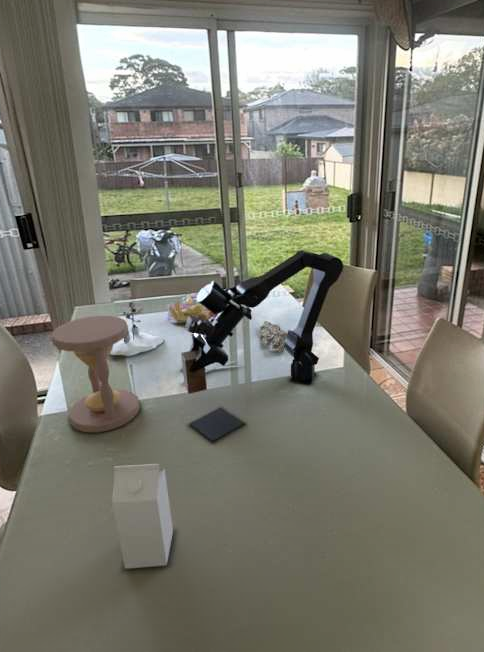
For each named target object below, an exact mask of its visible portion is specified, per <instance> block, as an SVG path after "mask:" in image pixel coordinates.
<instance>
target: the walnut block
mask: <svg viewBox="0 0 484 652" xmlns="http://www.w3.org/2000/svg"><path fill="white" fill-rule="evenodd" d="M199 354H200V352H199V349H198V350H193V351H190V350H189V351H184V352H181V353H180V355H181V367H183V369H182V374H183V382H184V384H183V385H184V387H185V390H186V392H187V393H188V395H190V394H193V393H194V394H195V393H199V392H203V391H207V389H208V388H207V376H206V373H205V367H204V368H202V369H200V370H197V371H195V372H193V373H192V372H190V371H189V370H190V368H191V366H192V365H193V363H194V362H195V360H196V359H197V357H198V356H199Z"/></svg>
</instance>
